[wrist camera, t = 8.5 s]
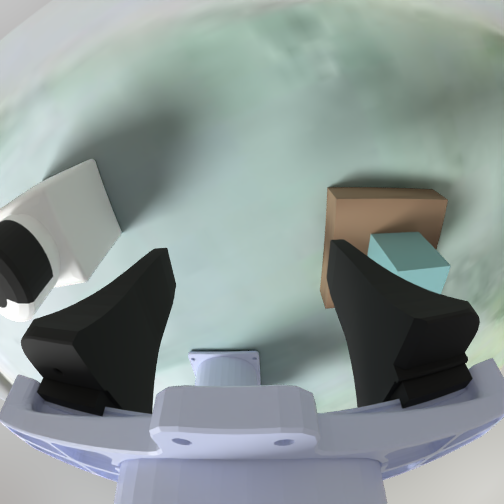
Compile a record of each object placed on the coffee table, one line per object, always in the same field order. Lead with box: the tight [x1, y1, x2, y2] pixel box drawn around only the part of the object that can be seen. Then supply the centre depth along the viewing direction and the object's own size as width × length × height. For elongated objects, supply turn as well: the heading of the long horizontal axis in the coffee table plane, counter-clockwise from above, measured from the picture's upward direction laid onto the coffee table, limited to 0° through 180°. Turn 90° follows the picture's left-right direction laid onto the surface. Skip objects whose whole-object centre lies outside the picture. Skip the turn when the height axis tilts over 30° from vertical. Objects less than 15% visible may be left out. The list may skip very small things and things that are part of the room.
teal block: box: [367, 232, 450, 294], centre depth 19 cm, size 4×4×5 cm
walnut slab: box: [320, 187, 448, 309], centre depth 22 cm, size 10×10×3 cm
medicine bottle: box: [0, 159, 122, 322], centre depth 16 cm, size 7×7×12 cm
